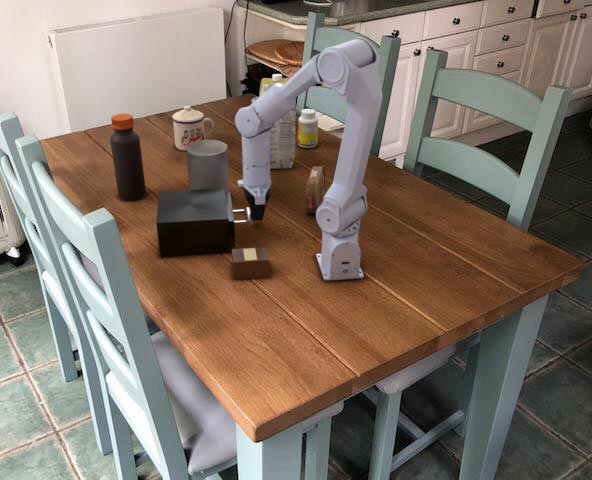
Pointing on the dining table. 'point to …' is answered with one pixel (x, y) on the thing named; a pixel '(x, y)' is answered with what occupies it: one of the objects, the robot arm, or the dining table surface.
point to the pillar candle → (207, 165)
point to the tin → (315, 188)
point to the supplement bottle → (307, 129)
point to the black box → (193, 222)
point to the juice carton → (281, 132)
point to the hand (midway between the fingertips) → (257, 219)
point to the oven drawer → (232, 223)
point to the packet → (250, 263)
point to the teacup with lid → (189, 127)
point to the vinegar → (127, 158)
